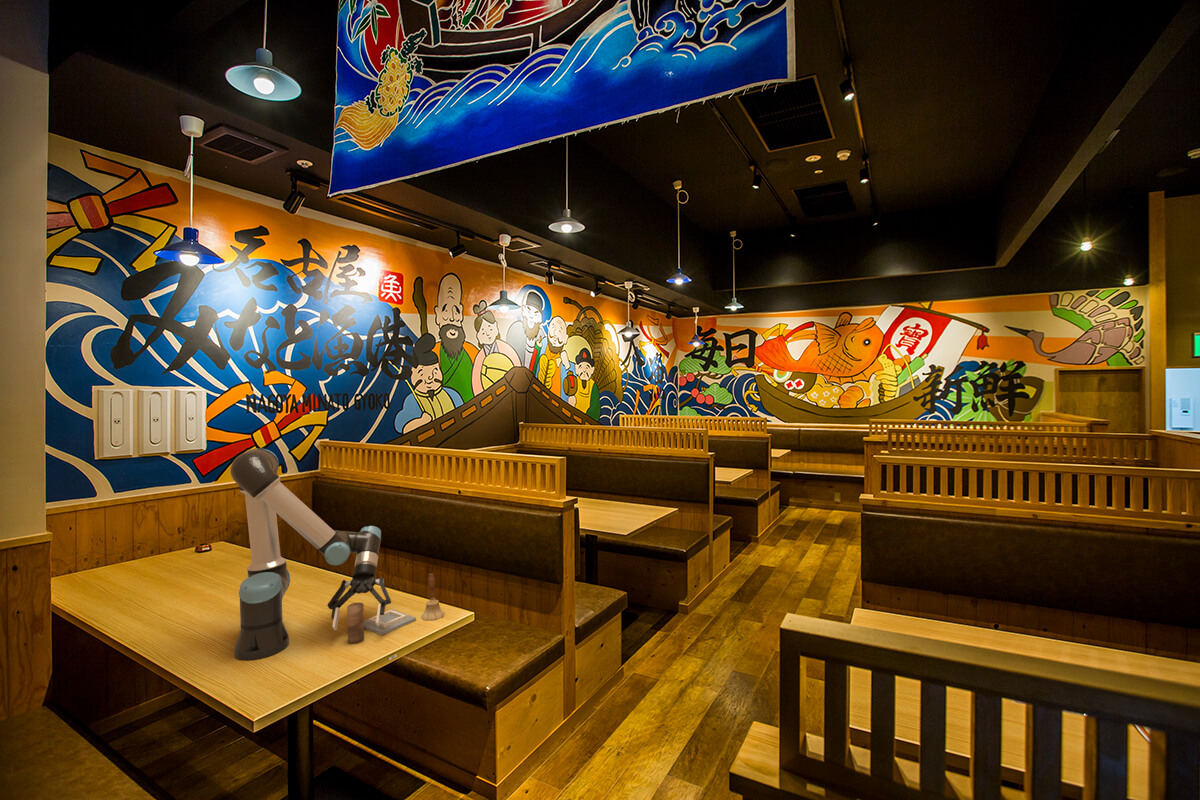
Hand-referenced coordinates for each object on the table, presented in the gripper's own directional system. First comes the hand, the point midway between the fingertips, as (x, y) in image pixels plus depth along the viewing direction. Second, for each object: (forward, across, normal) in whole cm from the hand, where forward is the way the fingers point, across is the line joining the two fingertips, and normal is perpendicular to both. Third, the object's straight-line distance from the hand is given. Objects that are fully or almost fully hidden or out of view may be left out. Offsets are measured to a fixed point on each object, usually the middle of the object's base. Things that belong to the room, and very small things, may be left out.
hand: (356, 626), depth 178 cm
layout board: (-6, -7, -13) cm, 16 cm away
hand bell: (-7, -23, -15) cm, 29 cm away
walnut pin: (+3, 0, -5) cm, 5 cm away
